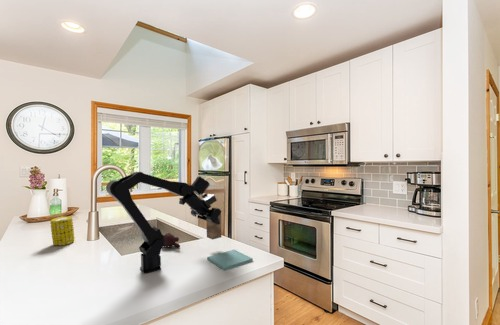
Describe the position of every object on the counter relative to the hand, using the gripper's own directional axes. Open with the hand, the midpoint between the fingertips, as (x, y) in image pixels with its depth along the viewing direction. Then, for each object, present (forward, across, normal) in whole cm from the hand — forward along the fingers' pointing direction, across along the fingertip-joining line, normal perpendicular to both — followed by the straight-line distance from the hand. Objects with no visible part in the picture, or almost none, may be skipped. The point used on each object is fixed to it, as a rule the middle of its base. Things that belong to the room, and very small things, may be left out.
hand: (216, 222), depth 122 cm
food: (-29, +65, +47) cm, 85 cm away
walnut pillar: (+4, 0, +6) cm, 7 cm away
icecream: (-2, +21, +20) cm, 29 cm away
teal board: (+6, -15, +11) cm, 20 cm away
